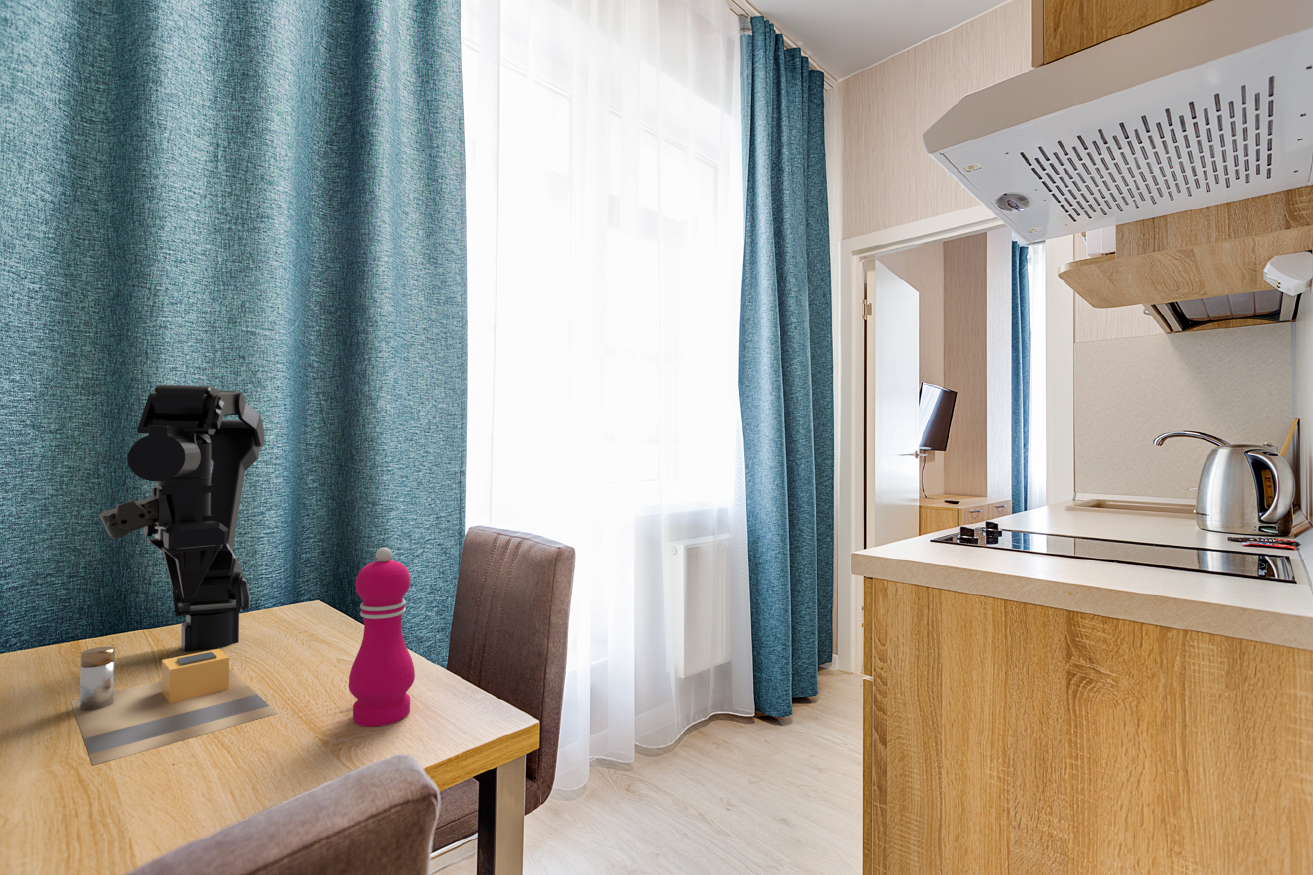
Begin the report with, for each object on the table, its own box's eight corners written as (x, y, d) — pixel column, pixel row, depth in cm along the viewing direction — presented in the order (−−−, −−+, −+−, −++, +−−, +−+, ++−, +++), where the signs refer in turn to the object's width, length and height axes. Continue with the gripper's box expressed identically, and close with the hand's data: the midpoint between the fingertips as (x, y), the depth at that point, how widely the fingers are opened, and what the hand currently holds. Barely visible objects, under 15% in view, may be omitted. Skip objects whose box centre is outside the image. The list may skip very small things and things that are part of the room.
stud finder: (218, 678, 82) (219, 646, 82) (228, 688, 79) (229, 655, 79) (161, 691, 78) (162, 657, 78) (169, 703, 74) (170, 667, 75)
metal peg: (111, 697, 76) (112, 644, 76) (115, 705, 74) (116, 650, 74) (78, 705, 74) (79, 650, 74) (81, 712, 72) (82, 656, 72)
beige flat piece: (227, 673, 87) (227, 666, 87) (277, 721, 72) (278, 713, 72) (70, 709, 75) (70, 700, 75) (92, 775, 60) (92, 765, 60)
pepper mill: (427, 707, 76) (429, 544, 76) (383, 733, 69) (385, 554, 69) (380, 699, 78) (382, 541, 79) (333, 723, 72) (335, 550, 72)
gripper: (96, 477, 84) (94, 592, 84) (116, 483, 72) (113, 618, 71) (196, 474, 92) (195, 579, 92) (230, 479, 80) (228, 601, 79)
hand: (183, 593), depth 84 cm, fingers open, 6 cm apart
